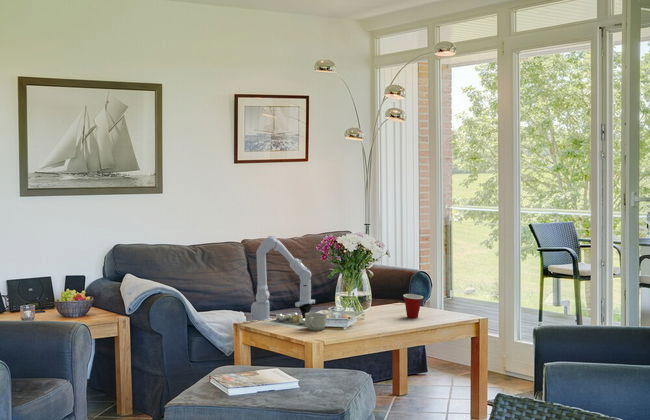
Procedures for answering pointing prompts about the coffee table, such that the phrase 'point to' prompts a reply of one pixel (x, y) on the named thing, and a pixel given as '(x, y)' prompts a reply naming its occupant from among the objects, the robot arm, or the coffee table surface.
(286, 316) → the spacers
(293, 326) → the mat
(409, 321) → the coffee table surface
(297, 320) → the nut
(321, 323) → the teacup
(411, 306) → the plastic cup
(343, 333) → the coffee table surface
